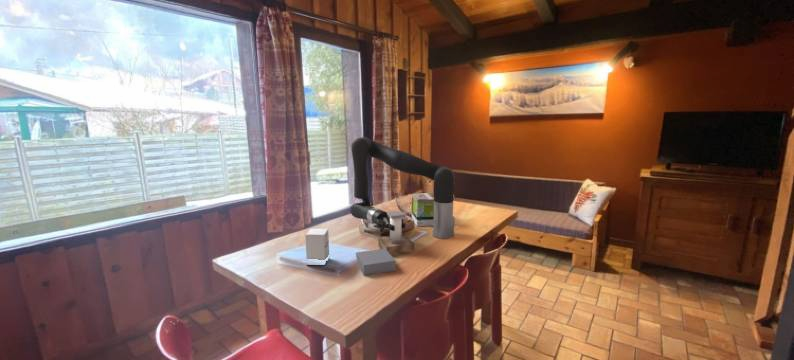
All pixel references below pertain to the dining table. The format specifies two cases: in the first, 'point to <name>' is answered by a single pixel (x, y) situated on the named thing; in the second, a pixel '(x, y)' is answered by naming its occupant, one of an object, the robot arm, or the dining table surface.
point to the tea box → (422, 209)
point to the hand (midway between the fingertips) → (399, 227)
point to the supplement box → (317, 244)
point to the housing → (396, 227)
